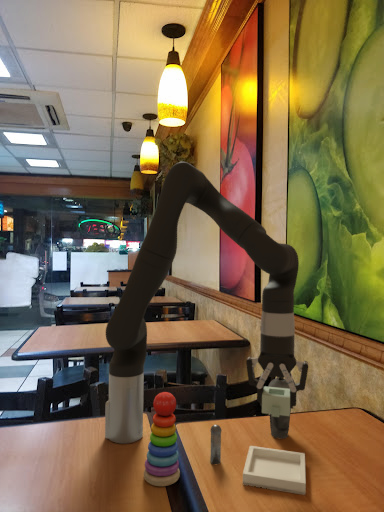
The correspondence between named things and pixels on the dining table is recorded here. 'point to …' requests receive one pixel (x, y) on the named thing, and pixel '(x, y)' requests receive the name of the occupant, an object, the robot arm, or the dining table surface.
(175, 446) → the stacking toy
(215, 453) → the post
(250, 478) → the tray
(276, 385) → the beverage cup
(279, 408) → the pale green hollow block
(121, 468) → the dining table surface
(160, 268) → the robot arm
